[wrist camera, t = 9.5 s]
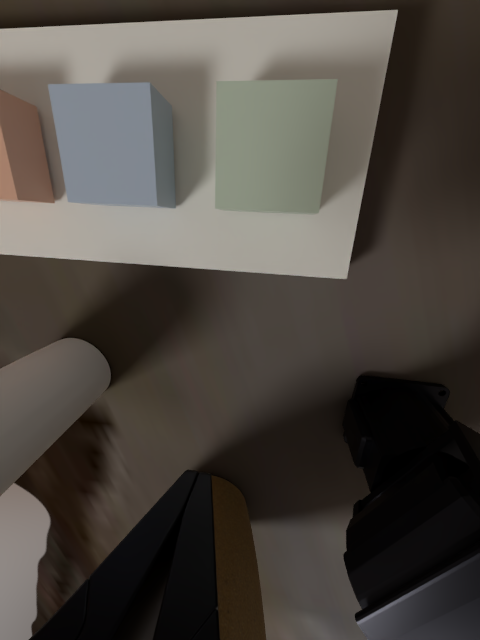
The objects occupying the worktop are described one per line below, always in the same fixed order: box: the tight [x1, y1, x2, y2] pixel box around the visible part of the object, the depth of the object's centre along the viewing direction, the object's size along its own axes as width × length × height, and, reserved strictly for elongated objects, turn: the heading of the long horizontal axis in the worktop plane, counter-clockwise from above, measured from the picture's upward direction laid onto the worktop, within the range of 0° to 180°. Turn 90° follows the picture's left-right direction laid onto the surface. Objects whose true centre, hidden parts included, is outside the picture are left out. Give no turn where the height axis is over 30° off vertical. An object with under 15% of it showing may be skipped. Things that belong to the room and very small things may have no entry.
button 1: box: [215, 79, 338, 215], centre depth 13 cm, size 5×5×2 cm
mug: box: [0, 338, 111, 496], centre depth 19 cm, size 10×7×12 cm, turn 106°
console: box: [0, 10, 398, 279], centre depth 16 cm, size 26×12×2 cm, turn 87°
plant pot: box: [211, 475, 266, 640], centre depth 21 cm, size 15×15×16 cm
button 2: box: [48, 82, 176, 209], centre depth 14 cm, size 5×5×2 cm
